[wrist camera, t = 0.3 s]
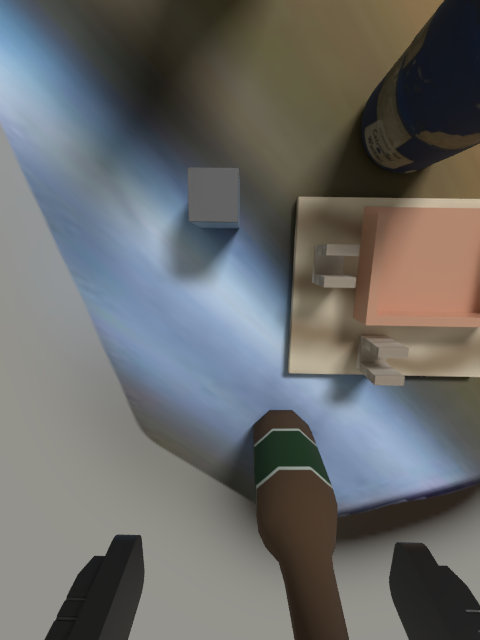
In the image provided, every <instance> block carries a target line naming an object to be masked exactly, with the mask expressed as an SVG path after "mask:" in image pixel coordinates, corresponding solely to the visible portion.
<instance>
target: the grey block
mask: <svg viewBox="0 0 480 640" xmlns="http://www.w3.org/2000/svg"><path fill="white" fill-rule="evenodd" d="M188 205H189V222H191V223H193V224H195V225H196V226H198V227H200V228H239V212H240V181H239V168H188Z"/></svg>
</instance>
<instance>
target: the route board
mask: <svg viewBox="0 0 480 640" xmlns="http://www.w3.org/2000/svg"><path fill="white" fill-rule="evenodd" d="M365 207H420V208H480V199H432V198H357V197H298V198H297V208H296V226H295V244H294V262H293V281H292V299H291V317H290V336H289V354H288V372H289V373H305V374H355V375H365V376H366V377H367V378H368V379H369V380H370V381H371V382H372V383H373V384H374V385H398V386H404V379H405V376H455V377H480V327H434V326H379V325H364V324H363V323H361V322H359V321H358V320H356V319H354V318H353V312H354V303H355V293H356V283H357V274H358V264H359V254H360V245H361V235H362V225H363V216H364V208H365ZM403 375H405V376H403Z"/></svg>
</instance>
